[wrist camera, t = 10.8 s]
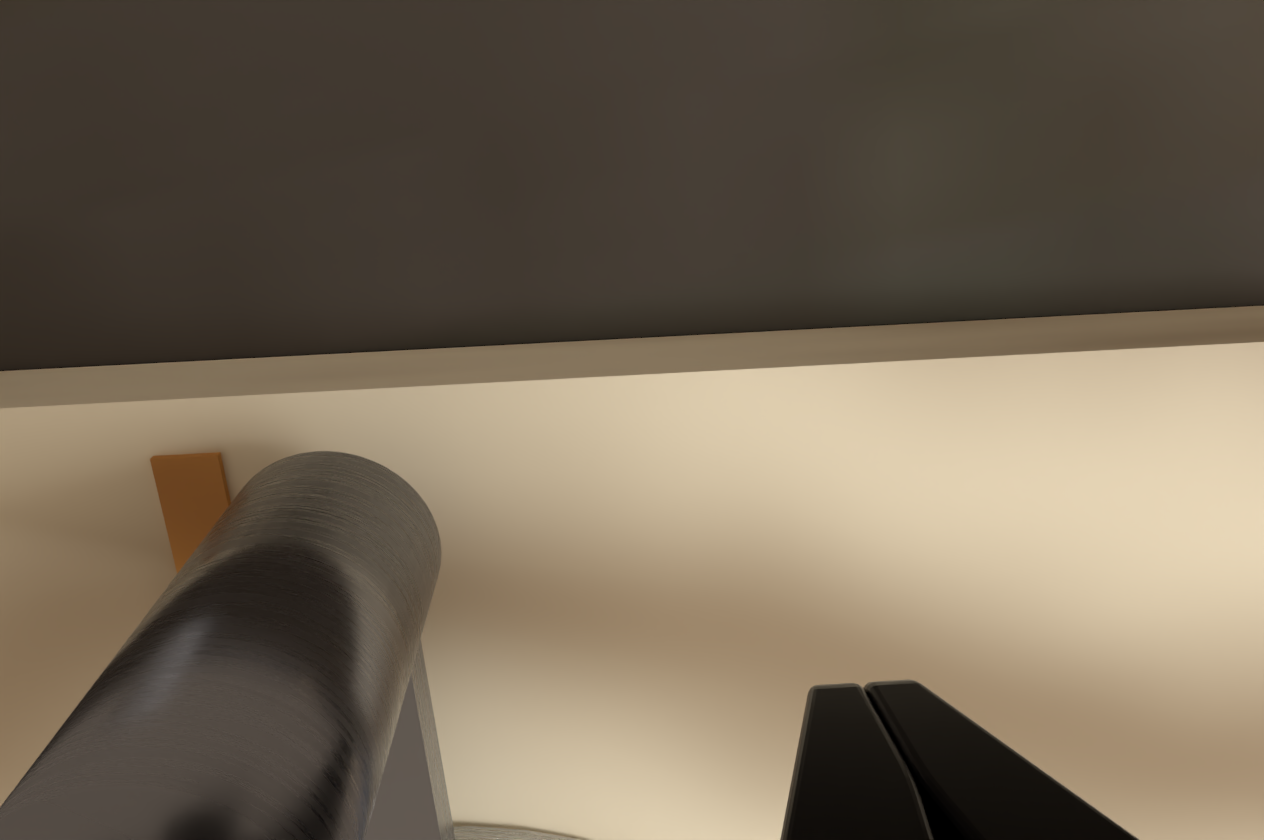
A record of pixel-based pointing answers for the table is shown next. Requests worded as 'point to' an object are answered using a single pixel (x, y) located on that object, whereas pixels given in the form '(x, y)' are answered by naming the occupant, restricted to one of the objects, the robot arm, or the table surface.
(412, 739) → the grey metal part
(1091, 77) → the table surface
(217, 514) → the base plate
